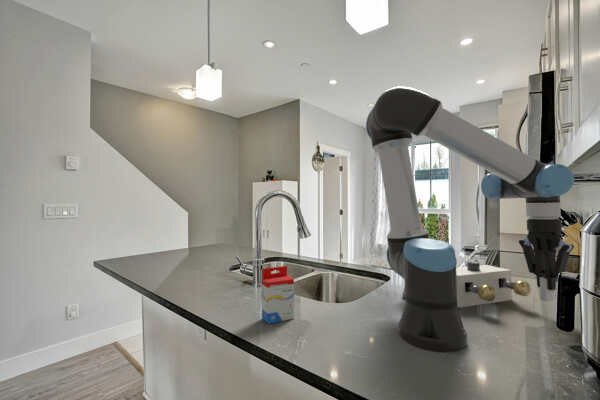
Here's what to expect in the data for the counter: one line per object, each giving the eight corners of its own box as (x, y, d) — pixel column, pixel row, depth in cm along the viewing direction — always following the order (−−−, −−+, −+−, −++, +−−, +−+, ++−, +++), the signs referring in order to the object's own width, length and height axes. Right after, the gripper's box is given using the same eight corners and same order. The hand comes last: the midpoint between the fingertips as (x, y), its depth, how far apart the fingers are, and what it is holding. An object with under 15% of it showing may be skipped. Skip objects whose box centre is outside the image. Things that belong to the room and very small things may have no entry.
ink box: (267, 324, 77) (266, 271, 77) (261, 318, 81) (260, 268, 82) (295, 318, 81) (294, 268, 81) (287, 313, 85) (287, 265, 86)
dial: (473, 271, 92) (473, 263, 92) (464, 269, 96) (464, 261, 96) (482, 270, 93) (482, 262, 93) (473, 268, 97) (472, 260, 97)
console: (460, 307, 87) (458, 275, 87) (438, 298, 95) (437, 269, 96) (512, 300, 93) (511, 270, 93) (487, 292, 101) (486, 264, 102)
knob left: (484, 302, 80) (483, 287, 81) (459, 293, 89) (458, 279, 89) (496, 300, 82) (495, 285, 82) (469, 291, 90) (469, 278, 90)
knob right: (520, 297, 84) (519, 282, 84) (492, 288, 93) (491, 275, 93) (530, 295, 85) (530, 281, 86) (502, 287, 94) (501, 274, 94)
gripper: (580, 218, 75) (584, 306, 74) (528, 217, 87) (531, 292, 87) (560, 219, 73) (564, 309, 72) (510, 217, 85) (513, 294, 85)
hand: (546, 300), depth 79 cm, fingers closed
